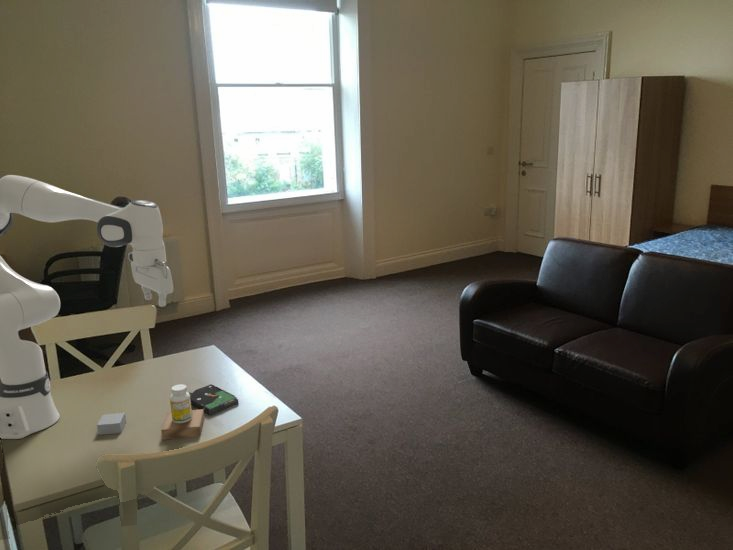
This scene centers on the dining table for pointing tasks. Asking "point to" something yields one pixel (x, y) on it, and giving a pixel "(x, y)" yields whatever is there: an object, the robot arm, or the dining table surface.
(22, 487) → the dining table surface
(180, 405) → the supplement bottle
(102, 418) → the slate plinth
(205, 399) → the disk drive
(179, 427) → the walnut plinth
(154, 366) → the dining table surface
